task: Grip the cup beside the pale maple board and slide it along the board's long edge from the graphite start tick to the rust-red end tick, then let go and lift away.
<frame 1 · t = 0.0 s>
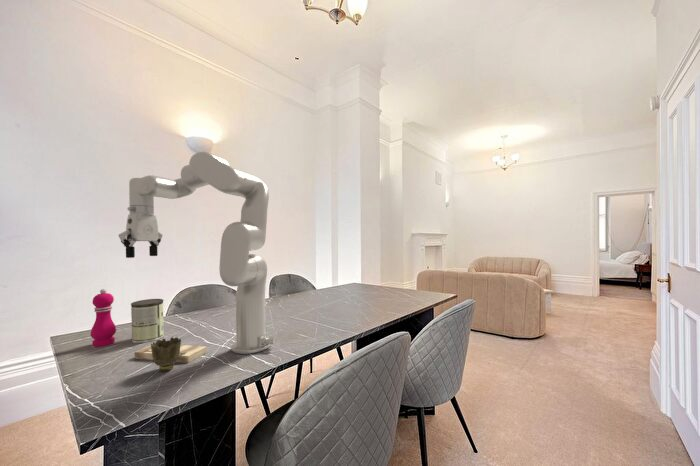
hand: (142, 256, 113), 31 cm above the table, tool pointing down, fingers open, 9 cm apart
cup: (166, 370, 86), on the table
pepper mill: (103, 344, 109), on the table
coffee can: (148, 339, 114), on the table
maple board: (171, 355, 97), on the table
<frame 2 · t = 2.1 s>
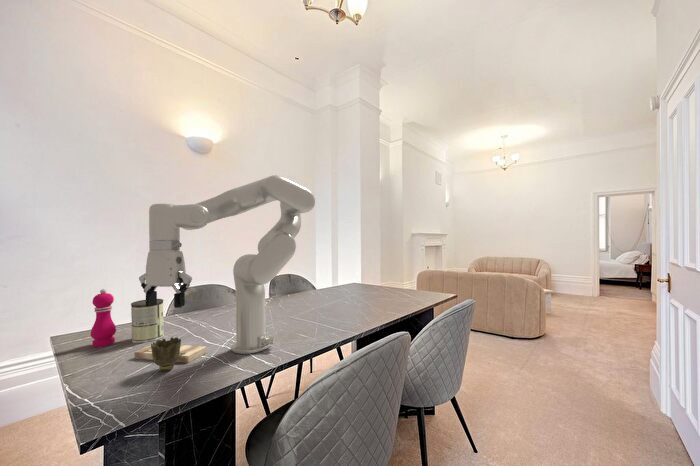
hand: (165, 306, 86), 18 cm above the table, tool pointing down, fingers open, 9 cm apart
nothing on the table moved.
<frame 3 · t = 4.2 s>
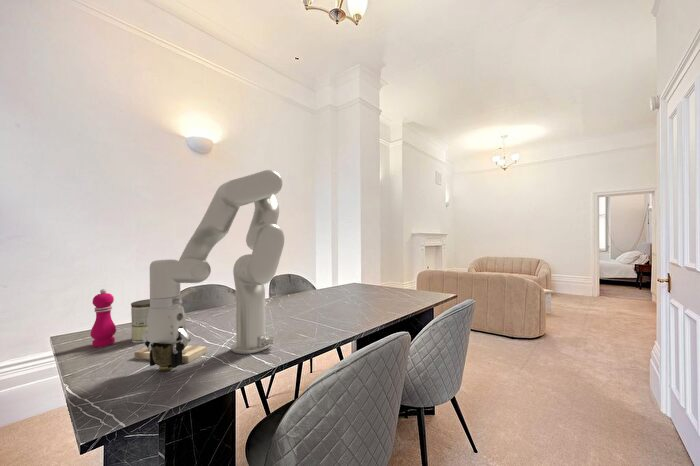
hand: (166, 364, 86), 1 cm above the table, tool pointing down, fingers closed on cup, 6 cm apart
cup: (166, 370, 86), on the table, touching gripper
everything else where it was.
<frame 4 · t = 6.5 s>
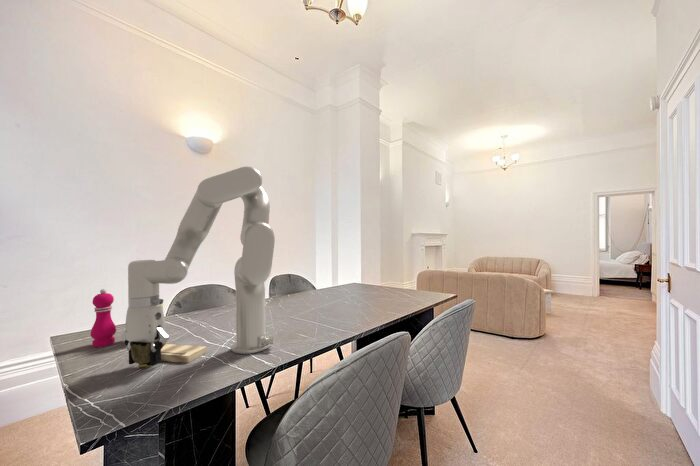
hand: (145, 362, 88), 1 cm above the table, tool pointing down, fingers closed on cup, 6 cm apart
cup: (145, 367, 88), on the table, touching gripper
everything else where it was.
when the fingers open (1 cm above the table, at t = 9.2 s): cup stays where it is, on the table.
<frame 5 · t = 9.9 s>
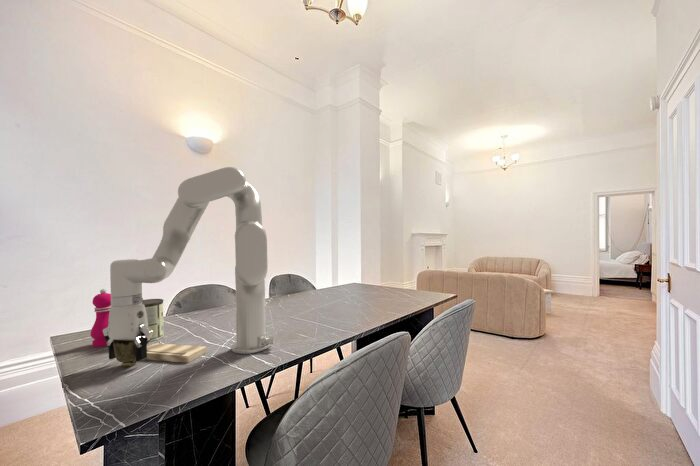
hand: (128, 358, 89), 2 cm above the table, tool pointing down, fingers open, 9 cm apart
cup: (129, 366, 89), on the table
everything else where it was.
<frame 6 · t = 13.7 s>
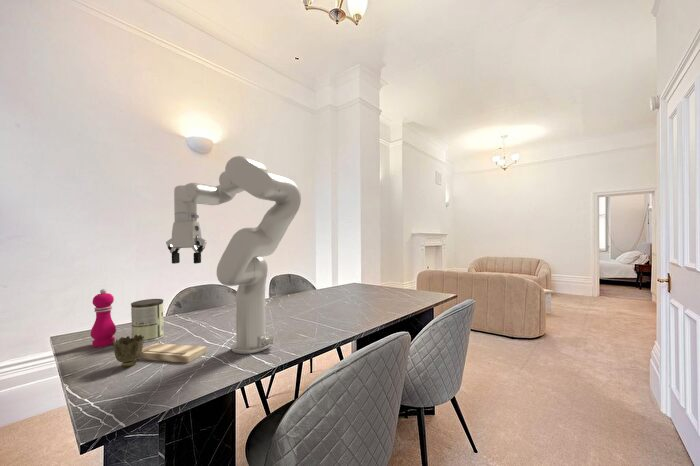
hand: (186, 263, 114), 28 cm above the table, tool pointing down, fingers open, 9 cm apart
nothing on the table moved.
at the end: cup inside the target area (0.7 cm from its centre), on the table; cup tilted 0°; cup moved 13.6 cm from its start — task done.
